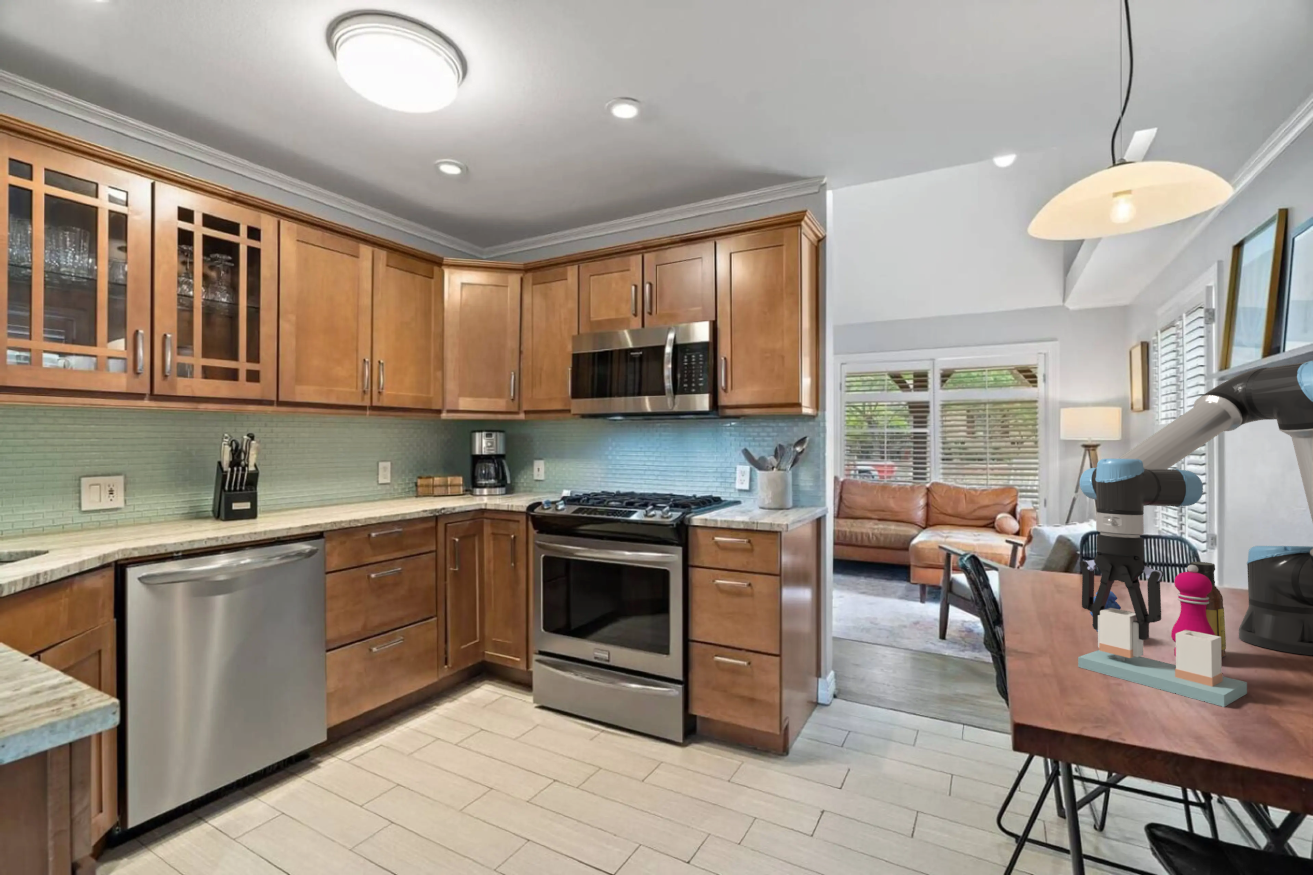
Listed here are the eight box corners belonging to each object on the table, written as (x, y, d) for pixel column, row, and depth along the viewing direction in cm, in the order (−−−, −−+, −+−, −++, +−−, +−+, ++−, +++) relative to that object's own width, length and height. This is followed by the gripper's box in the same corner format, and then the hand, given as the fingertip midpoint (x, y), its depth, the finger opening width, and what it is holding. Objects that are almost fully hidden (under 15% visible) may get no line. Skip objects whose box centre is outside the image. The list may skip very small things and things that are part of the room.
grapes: (1118, 648, 133) (1117, 594, 133) (1083, 639, 138) (1083, 588, 139) (1138, 640, 139) (1137, 588, 139) (1104, 632, 145) (1103, 583, 145)
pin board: (1105, 657, 126) (1104, 628, 126) (1247, 693, 107) (1246, 659, 107) (1078, 666, 120) (1078, 636, 120) (1224, 706, 101) (1223, 671, 101)
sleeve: (1110, 646, 122) (1110, 607, 123) (1141, 653, 118) (1141, 613, 118) (1099, 650, 120) (1099, 610, 120) (1130, 658, 115) (1130, 616, 115)
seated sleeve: (1185, 672, 112) (1185, 629, 112) (1222, 681, 108) (1221, 636, 108) (1175, 676, 109) (1174, 633, 110) (1212, 686, 105) (1211, 640, 105)
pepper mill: (1177, 661, 124) (1176, 565, 125) (1167, 651, 131) (1165, 560, 131) (1222, 667, 121) (1221, 569, 122) (1210, 657, 127) (1208, 563, 128)
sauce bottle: (1210, 650, 132) (1208, 560, 133) (1234, 659, 126) (1233, 565, 127) (1178, 648, 133) (1177, 559, 134) (1201, 657, 127) (1200, 564, 127)
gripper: (1060, 530, 125) (1060, 641, 124) (1169, 541, 110) (1170, 668, 109) (1077, 528, 129) (1077, 636, 128) (1184, 539, 114) (1185, 661, 113)
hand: (1120, 650), depth 119 cm, fingers closed on sleeve, 5 cm apart
